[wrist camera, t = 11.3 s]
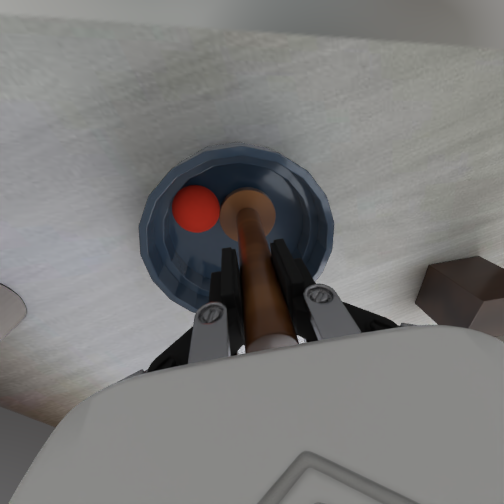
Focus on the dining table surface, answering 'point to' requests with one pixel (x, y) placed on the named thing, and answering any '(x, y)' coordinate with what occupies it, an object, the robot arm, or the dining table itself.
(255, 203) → the wooden plunger
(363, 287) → the dining table surface
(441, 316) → the rest
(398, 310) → the dining table surface
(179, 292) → the bowl
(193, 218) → the ball
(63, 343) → the dining table surface
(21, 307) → the candle
